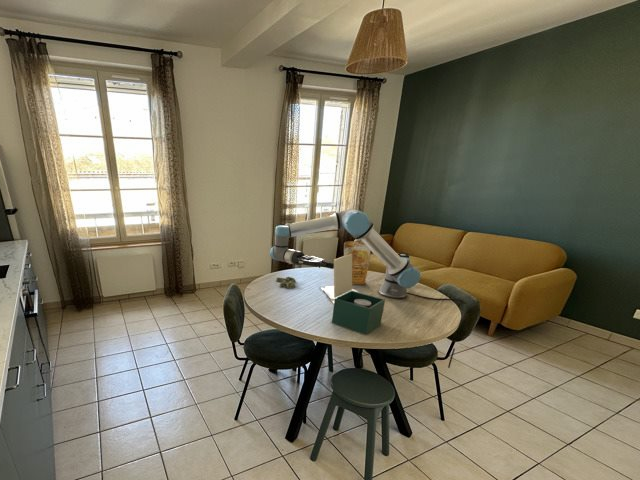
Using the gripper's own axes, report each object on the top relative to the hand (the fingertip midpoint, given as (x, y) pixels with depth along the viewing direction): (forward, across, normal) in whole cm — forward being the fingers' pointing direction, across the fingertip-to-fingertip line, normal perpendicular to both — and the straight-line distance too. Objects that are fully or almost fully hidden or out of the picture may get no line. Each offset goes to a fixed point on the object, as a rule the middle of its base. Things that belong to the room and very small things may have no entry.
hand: (333, 266), depth 163 cm
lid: (+6, 0, -3) cm, 7 cm away
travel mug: (+6, -79, -26) cm, 83 cm away
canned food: (+18, 0, -25) cm, 31 cm away
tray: (-8, -31, -26) cm, 41 cm away
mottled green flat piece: (-45, -24, -26) cm, 57 cm away
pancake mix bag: (-15, -57, -26) cm, 65 cm away
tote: (+16, 0, -26) cm, 30 cm away
